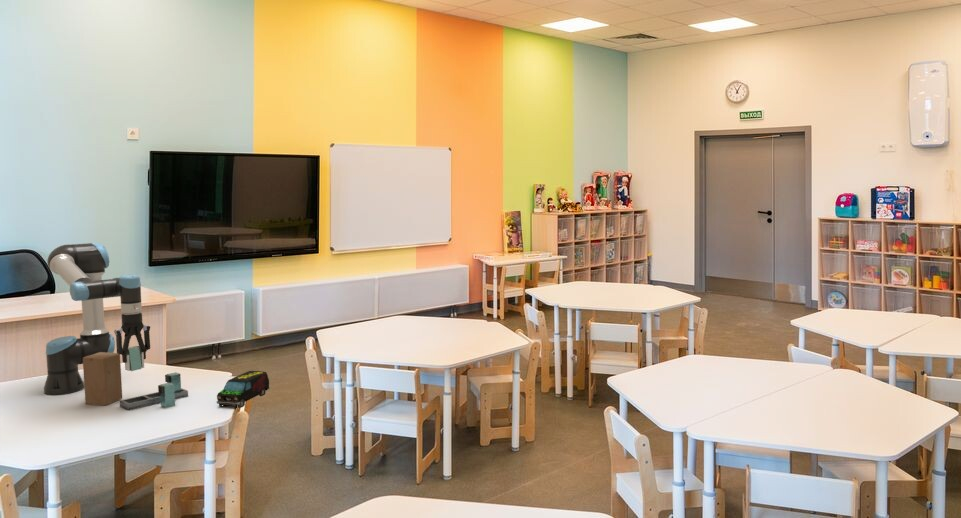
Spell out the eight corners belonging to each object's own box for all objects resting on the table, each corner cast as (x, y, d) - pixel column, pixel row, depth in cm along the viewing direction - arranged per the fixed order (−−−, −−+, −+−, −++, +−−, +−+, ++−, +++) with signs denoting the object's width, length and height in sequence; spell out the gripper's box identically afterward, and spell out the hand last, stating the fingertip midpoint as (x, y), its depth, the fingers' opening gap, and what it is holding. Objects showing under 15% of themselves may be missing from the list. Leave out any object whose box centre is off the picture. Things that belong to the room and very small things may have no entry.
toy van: (215, 407, 281) (214, 384, 280) (249, 390, 305) (248, 368, 304) (238, 409, 279) (237, 385, 278) (271, 392, 303) (270, 370, 302)
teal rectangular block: (127, 369, 282) (124, 348, 280) (139, 366, 286) (137, 345, 284) (131, 371, 279) (129, 349, 278) (144, 368, 283) (141, 347, 282)
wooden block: (105, 405, 283) (103, 358, 281) (84, 404, 285) (82, 357, 283) (122, 398, 293) (120, 352, 291) (102, 397, 295) (99, 351, 293)
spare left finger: (158, 406, 283) (157, 385, 282) (170, 403, 286) (169, 382, 286) (163, 408, 280) (162, 386, 279) (175, 405, 284) (174, 384, 283)
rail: (119, 406, 282) (118, 382, 281) (179, 392, 301) (178, 370, 300) (128, 410, 277) (126, 386, 276) (188, 396, 296) (187, 373, 295)
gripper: (112, 317, 270) (115, 374, 273) (158, 310, 284) (161, 365, 286) (104, 315, 275) (107, 371, 278) (150, 309, 289) (152, 363, 291)
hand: (134, 368), depth 282 cm, fingers closed on teal rectangular block, 5 cm apart
